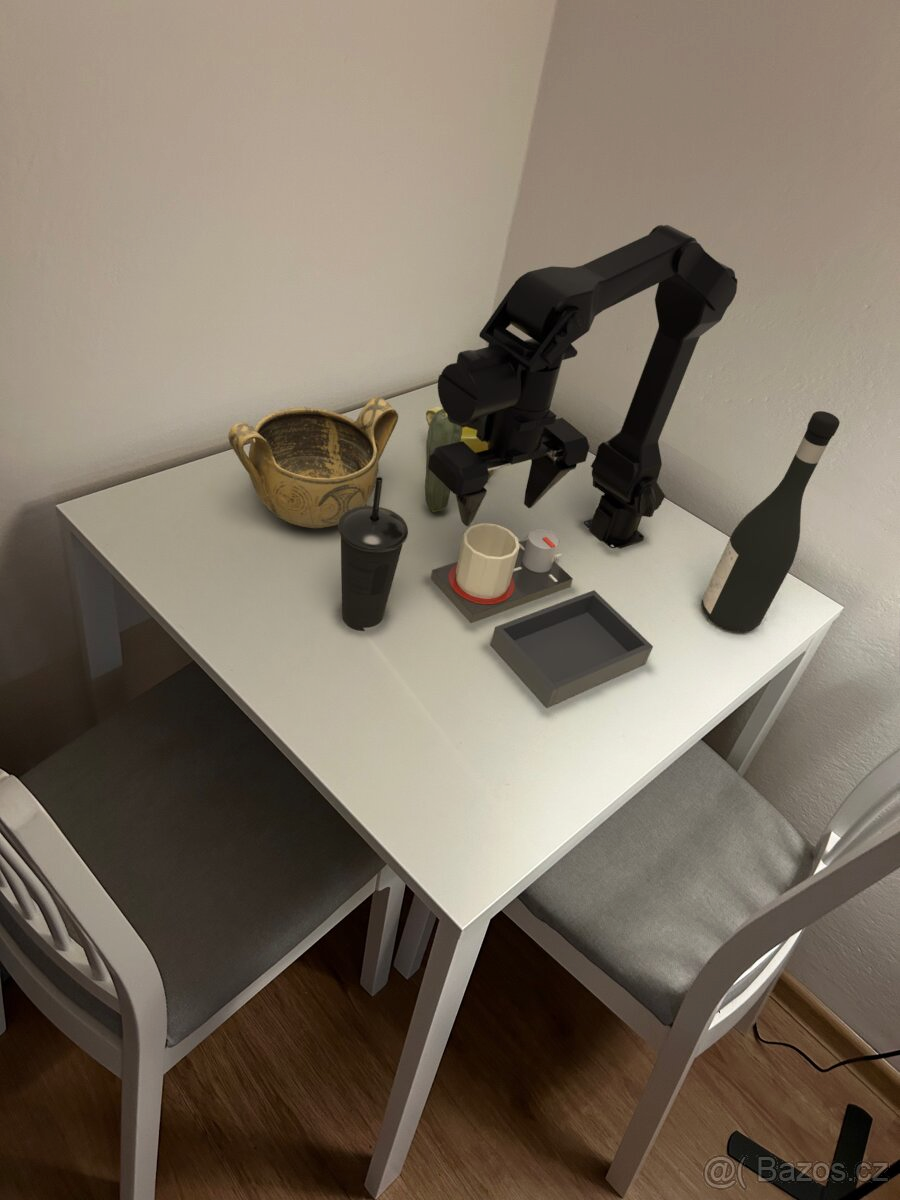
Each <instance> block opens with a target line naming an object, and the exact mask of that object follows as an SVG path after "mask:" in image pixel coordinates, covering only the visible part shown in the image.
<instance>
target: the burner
mask: <svg viewBox="0 0 900 1200" xmlns="http://www.w3.org/2000/svg"><path fill="white" fill-rule="evenodd" d="M457 564H458V563H457ZM457 564H456V565H454V566H453V567H452V568H451V570H450V572H449V576H448V580H449V584H450V586H451V588H452V589H453V590H454V591H455V592H456V593H457V594H458V595H459V596H461V597H462V598H464V599H466V600H468V601H470V602H474V603H477V604H484V605H491V604H498V603H501V602H503V601H505V600H507V599H508V598H510V596H511V595H512V594H513V592H514V587H515V585H514V580H513V578H511V582H510V585H509V586H508V588H507V590H506V592H505V593H504V594H503V595H501V596H499V597H496V598H492V599H483V598H477V597H474V596H471V595H469V594H468V593H466V592H465V591H463V590H462V589H461V588H460V587H459V585H458V583H457V581H456V568H457Z"/></svg>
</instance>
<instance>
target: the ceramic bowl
mask: <svg viewBox="0 0 900 1200" xmlns="http://www.w3.org/2000/svg"><path fill="white" fill-rule="evenodd" d="M358 414H359V415H358V416H357V418H356V420H354V419H353V418H350V417H348V416H346V415H343V414H341V413H339V412H335V411H330V410H327V409H324V408H316V407H291V408H284V409H280V410H278V411H274V412H272V413H269V414H267V415H266V416H265V417H263V418H262V419H260V421H258V422H257V424H256V425H255V427H254V426H252V425H250V424H249V423H246V422H238V423H235V424H233V425H232V427H230V429H229V432H228V437H227V439H228V442H229V445H230V447H231V448H232V450H233V452H234V453H235V455H236V456H237V458H238V460H239V462H240V463H241V464H242V466H243V468H244V470H245V471H246V472H247V473H248V475H249V479H250V481H251V483H252V485H253V488H254V490H255V492H256V494H257V496H258V497H259V499H260V500H261V502H262V503H263V504H264V505H265V506H266V507H267V508H268V510H270V511H271V513H273V514H274V515H275V516H277V517H278V518H279V519H281V520H283V521H285V522H286V523H289V524H291V525H295V526H298V527H302V528H308V529H324V528H330V527H333V526H338V523H339V520H340V518H341V516H342V515H343V514H344V513H345V512H347V511H349V510H351V509H353V508H356V507H361V506H366V504H367V503H368V501H369V500H370V498H371V496H372V495H373V493H374V491H375V484H376V478H377V477H378V475H379V469H380V468H379V461H380V459H381V457H382V456H383V453H384V451H385V449H386V447H387V444H388V442H389V441H390V438H391V436H392V434H393V432H394V430H395V428H396V426H397V423H398V421H399V413H398V412H397V410H396V409H395V408H394V407H393V406H392V405H391V404H390V403H389V402H388V401H387V400H386V399H385V398H383V397H381V396H375V397H372V398H371V399H370V400H368V402H367V403H366V404H365V405H364V407H363V408H362V410H361V411H360V413H358ZM249 440H250V444H249V450H248V455H247V453H246V451H245V449H244V448H245V447H244V446H245V445H246V443H247V442H249Z"/></svg>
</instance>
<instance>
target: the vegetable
mask: <svg viewBox="0 0 900 1200" xmlns="http://www.w3.org/2000/svg"><path fill="white" fill-rule="evenodd" d="M462 428H463V427H460V425H457V424H453V423H451V422H449V420H448V418H447V414H446V412H445V410H444V409H441V410H439V411H438V412H437V413H436V414H435V415H434V416H433V418H432V420H431V422H430V425H428V429H427V436H426V445H425V455H426V456H425V457H426V465H425V479H424V497H425V503H426V505H427V507H428V508H429V509H430V510H431V511H432V512H433V513H436V512H442V511H443V510H444V509H445V508H447V507H448V505H449V501H450V495H451V492H452V491H451V490H450V489H449V488H448V487H447V486H446V485H445V484H444V483H443V482H442V481H441V480H440V479H439V478H438V477H437V476H436V475H435V474H434V473H433V472H432V471H431V470H430V469H429V468H428V464H429V458H430V453H431V450H432V449H435V448H437V447H440V446H444V445H449V444H453V443H457V442H460V440H461V436H462Z"/></svg>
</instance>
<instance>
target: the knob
mask: <svg viewBox="0 0 900 1200" xmlns="http://www.w3.org/2000/svg"><path fill="white" fill-rule="evenodd" d="M526 540H527V543H526V546H525V550H524V554H523V557H522V563H523V565H524V566H525V567H526V568H527V569H529V570H531V571H534V572H538V573H543V572H547V571H549V570H550V569H551V568H552V565H553V562H554V561H555V559H556V558H555V555H557V551H558V548H559V545H560V539H559V537H558V535H556V533H554V532H552V531H550V530H547V529H543V528H537V529H533V530H531V531H530V532H529V533H528V536H527V539H526Z"/></svg>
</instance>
